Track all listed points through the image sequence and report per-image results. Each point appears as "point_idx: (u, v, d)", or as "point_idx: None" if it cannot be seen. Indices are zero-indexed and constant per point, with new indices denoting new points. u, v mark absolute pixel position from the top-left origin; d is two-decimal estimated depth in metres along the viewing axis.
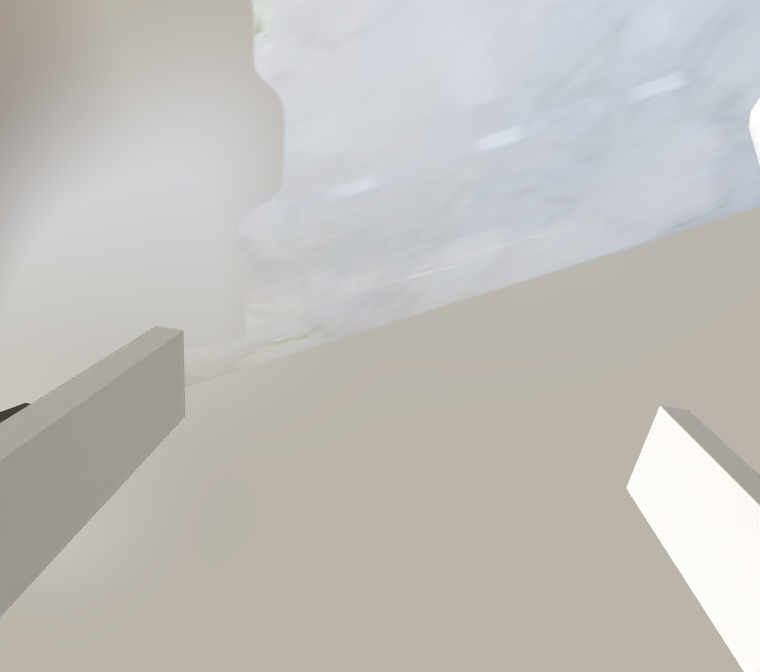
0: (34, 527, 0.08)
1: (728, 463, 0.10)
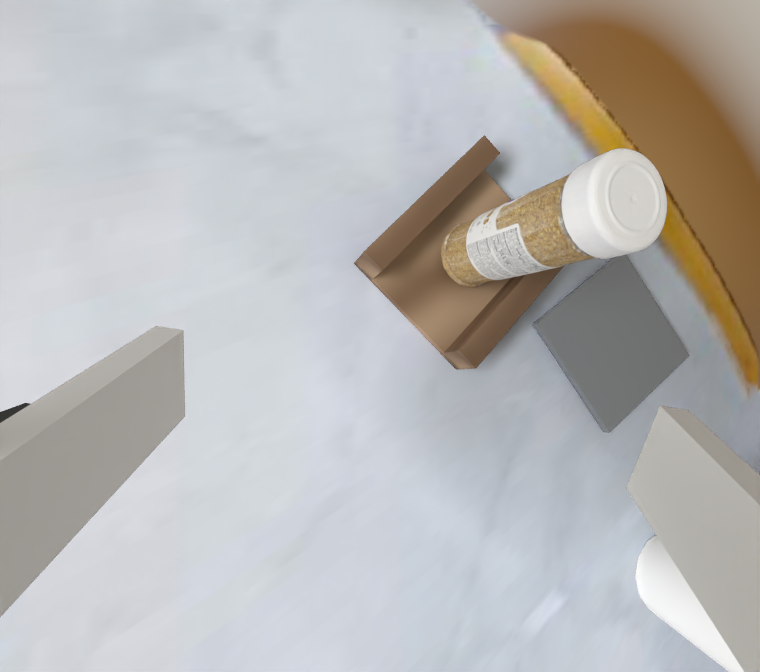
0: (34, 527, 0.08)
1: (728, 463, 0.10)
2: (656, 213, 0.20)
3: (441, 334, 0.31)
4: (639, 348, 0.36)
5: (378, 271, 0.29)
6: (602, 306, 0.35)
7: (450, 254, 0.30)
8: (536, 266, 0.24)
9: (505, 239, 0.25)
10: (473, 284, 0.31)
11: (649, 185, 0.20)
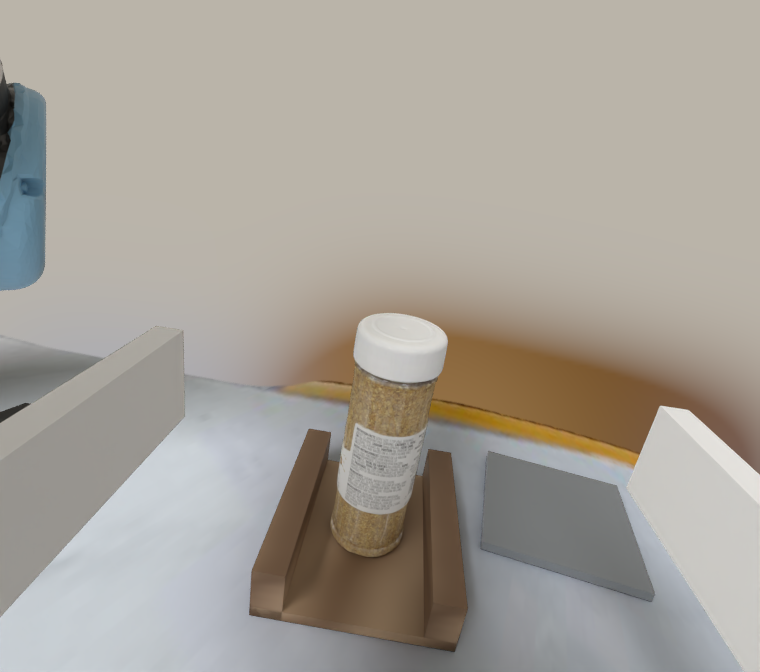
0: (34, 527, 0.08)
1: (728, 463, 0.10)
2: (430, 328, 0.23)
3: (404, 618, 0.23)
4: (580, 505, 0.33)
5: (282, 585, 0.22)
6: (517, 494, 0.33)
7: (343, 529, 0.26)
8: (402, 445, 0.23)
9: (359, 446, 0.23)
10: (390, 544, 0.26)
11: (409, 320, 0.24)
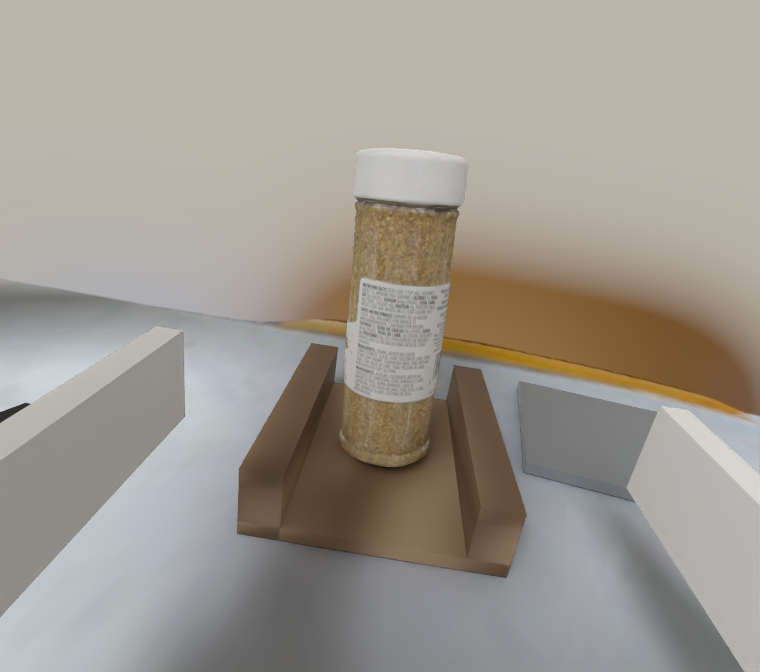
0: (34, 527, 0.08)
1: (728, 463, 0.10)
2: None
3: (439, 538, 0.18)
4: (634, 431, 0.28)
5: (279, 489, 0.16)
6: (559, 419, 0.28)
7: (355, 434, 0.21)
8: (422, 299, 0.18)
9: (368, 309, 0.19)
10: (415, 450, 0.21)
11: None
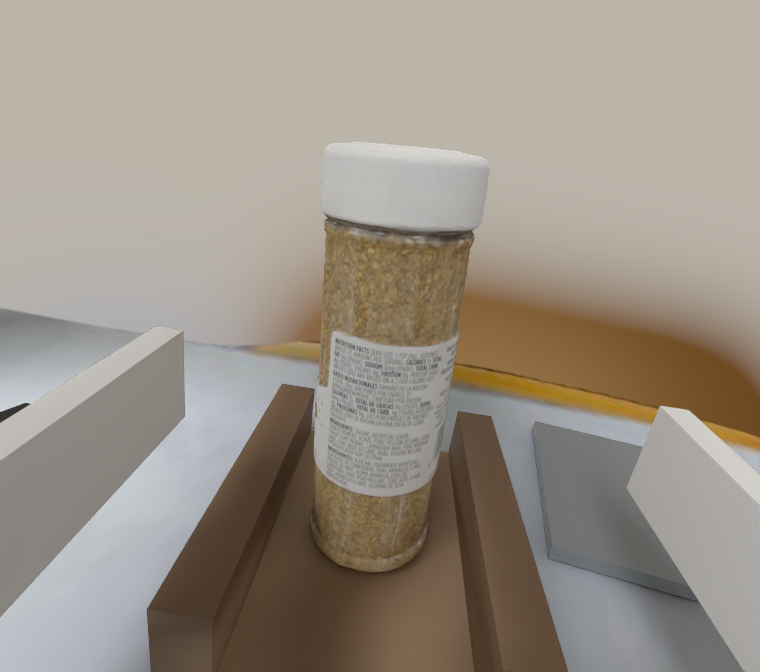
0: (34, 527, 0.08)
1: (728, 463, 0.10)
2: None
3: None
4: None
5: (207, 637, 0.11)
6: (587, 476, 0.23)
7: (328, 529, 0.15)
8: (419, 363, 0.13)
9: (343, 374, 0.13)
10: (408, 548, 0.16)
11: None
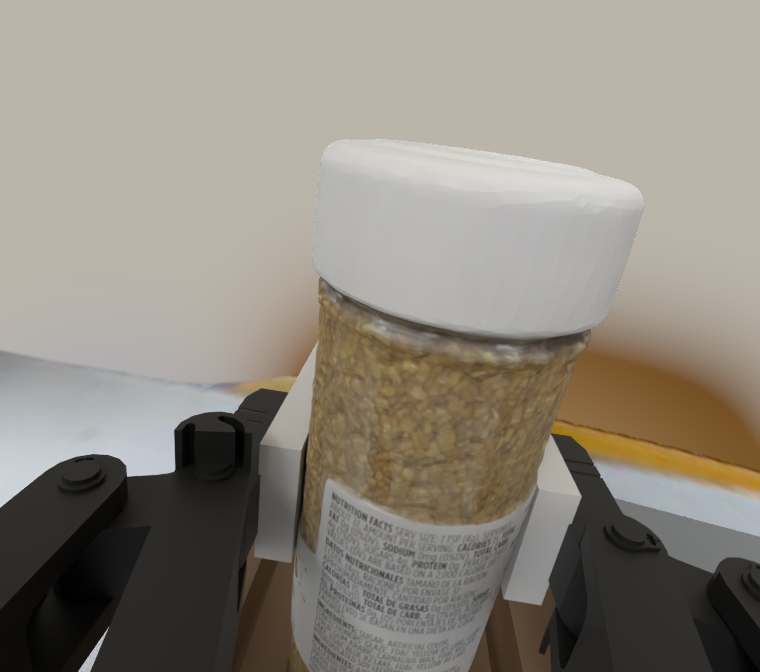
0: None
1: None
2: (560, 165, 0.07)
3: None
4: None
5: None
6: None
7: None
8: (481, 547, 0.07)
9: (343, 551, 0.07)
10: None
11: (484, 154, 0.08)
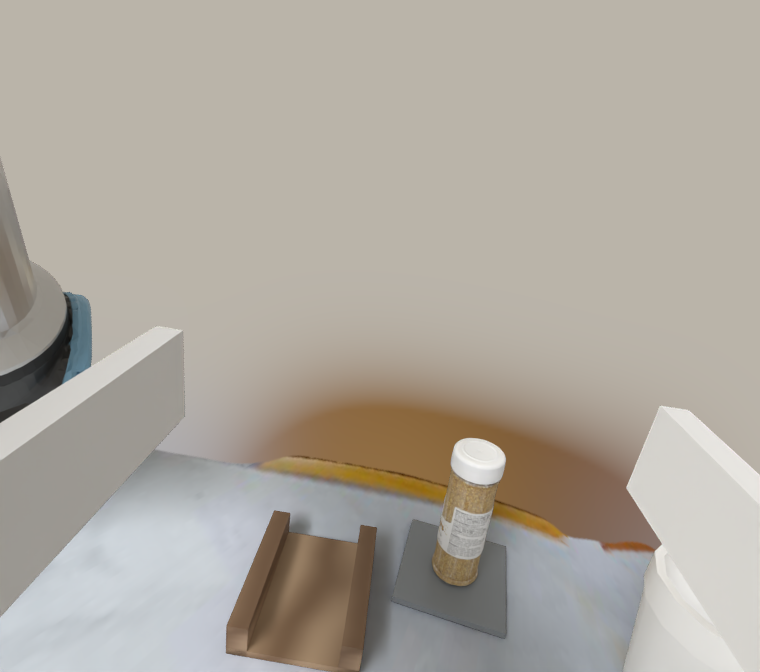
0: (34, 527, 0.08)
1: (728, 463, 0.10)
2: (493, 448, 0.40)
3: (327, 654, 0.35)
4: None
5: (246, 635, 0.34)
6: (426, 556, 0.45)
7: (444, 570, 0.42)
8: (483, 518, 0.40)
9: (458, 520, 0.40)
10: (473, 577, 0.42)
11: (480, 443, 0.41)
